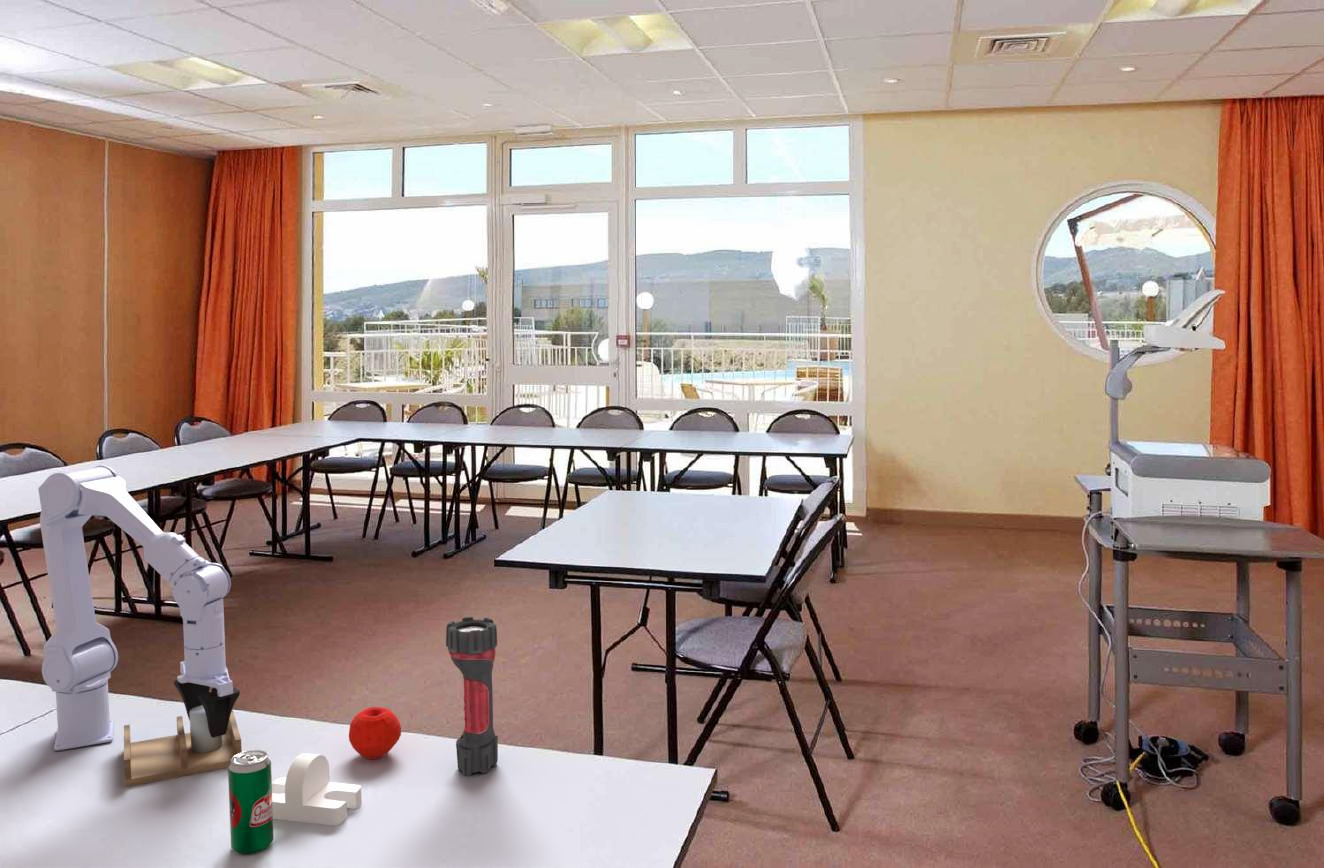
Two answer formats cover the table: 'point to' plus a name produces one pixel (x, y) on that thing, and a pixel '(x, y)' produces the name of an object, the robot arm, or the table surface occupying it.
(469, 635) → the flashlight
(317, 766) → the slotted bracket
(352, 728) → the apple
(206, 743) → the cylinder
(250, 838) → the soda can
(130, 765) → the rack
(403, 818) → the table surface
